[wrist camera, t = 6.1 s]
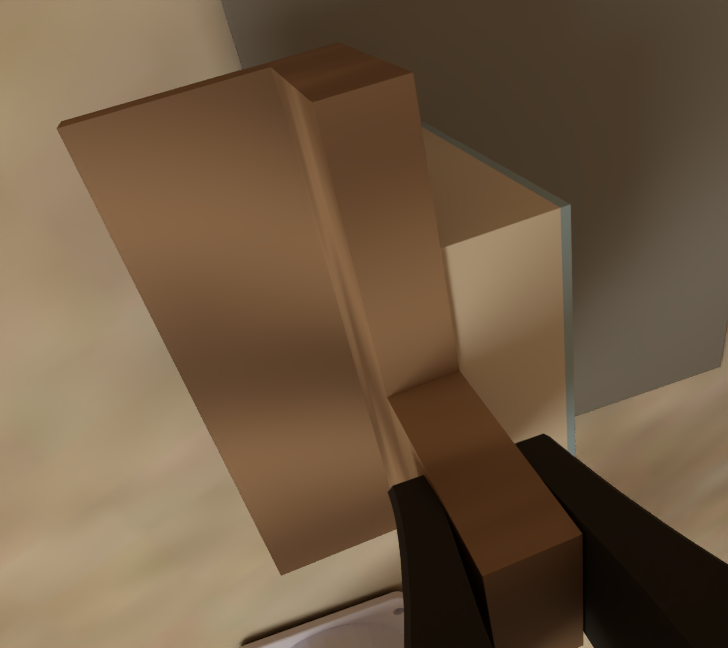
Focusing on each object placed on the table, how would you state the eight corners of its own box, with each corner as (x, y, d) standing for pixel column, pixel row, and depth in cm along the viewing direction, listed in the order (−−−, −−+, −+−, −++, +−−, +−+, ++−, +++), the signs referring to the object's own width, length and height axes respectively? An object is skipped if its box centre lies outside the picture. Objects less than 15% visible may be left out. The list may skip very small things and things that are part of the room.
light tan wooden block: (458, 351, 21) (576, 499, 15) (391, 376, 20) (485, 537, 14) (422, 121, 16) (570, 204, 10) (336, 147, 16) (439, 248, 10)
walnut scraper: (437, 495, 20) (584, 773, 13) (277, 559, 19) (344, 889, 12) (338, 42, 12) (579, 139, 5) (60, 121, 11) (-89, 358, 4)
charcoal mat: (717, 363, 24) (720, 366, 24) (370, 482, 23) (371, 486, 23) (805, -207, 14) (812, -210, 14) (205, -53, 13) (205, -54, 13)
